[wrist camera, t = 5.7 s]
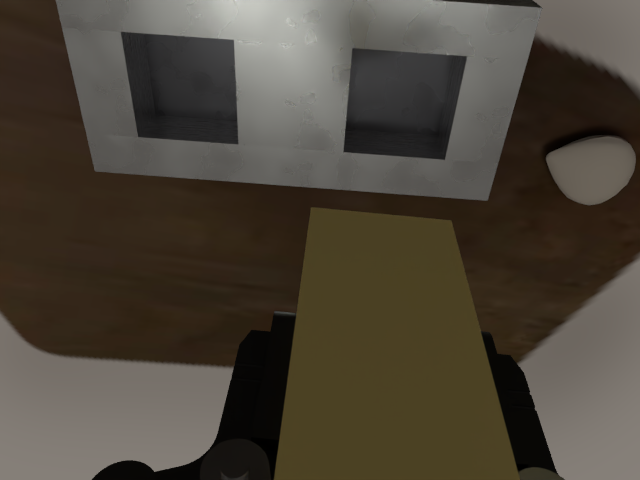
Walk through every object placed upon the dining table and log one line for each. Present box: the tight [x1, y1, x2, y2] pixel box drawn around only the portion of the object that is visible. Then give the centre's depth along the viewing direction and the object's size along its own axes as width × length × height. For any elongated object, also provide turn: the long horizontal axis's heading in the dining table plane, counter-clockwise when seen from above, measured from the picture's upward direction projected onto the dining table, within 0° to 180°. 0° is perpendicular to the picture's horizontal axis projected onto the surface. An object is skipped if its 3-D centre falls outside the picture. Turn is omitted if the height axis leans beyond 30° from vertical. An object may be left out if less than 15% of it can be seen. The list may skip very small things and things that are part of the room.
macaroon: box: [546, 135, 636, 205], centre depth 30 cm, size 4×5×2 cm
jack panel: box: [56, 0, 542, 201], centre depth 27 cm, size 10×22×4 cm, turn 87°
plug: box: [274, 207, 520, 480], centre depth 13 cm, size 5×4×9 cm
